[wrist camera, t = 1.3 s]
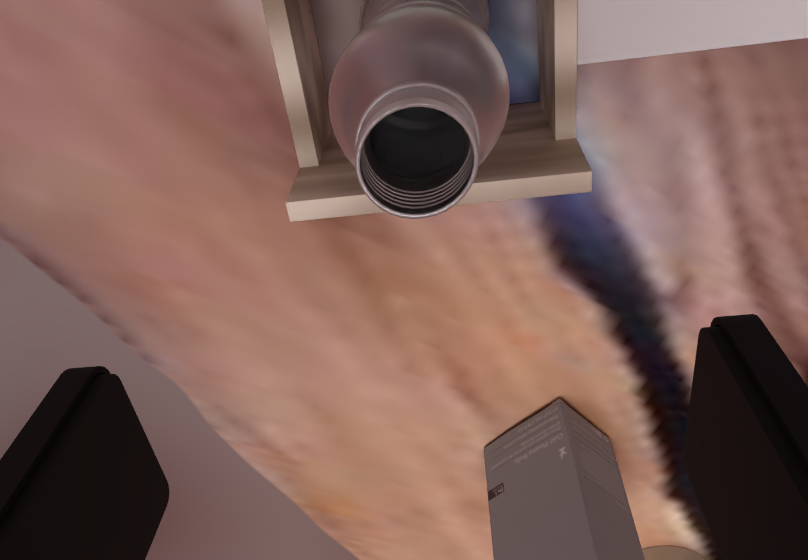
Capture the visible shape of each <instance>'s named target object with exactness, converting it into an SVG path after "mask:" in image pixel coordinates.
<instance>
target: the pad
mask: <svg viewBox="0 0 808 560" xmlns="http://www.w3.org/2000/svg"><path fill="white" fill-rule="evenodd" d="M801 38H808V0H577V65H581V64H589V63H598V62H606V61H615V60H623V59H632V58H640V57H649V56H657V55H666V54H674V53H683V52H691V51H700V50H708V49H717V48H725V47H734V46H742V45H751V44H759V43H768V42H776V41H784V40H793V39H801Z"/></svg>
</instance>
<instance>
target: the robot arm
mask: <svg viewBox="0 0 808 560" xmlns="http://www.w3.org/2000/svg"><path fill="white" fill-rule="evenodd" d="M684 463H685V468H686V472H687V475H688V478H689V480H690V483H691V485H692V488H693V490H694V492H695V495H696V497H697V500H698V502H699V505H700V507H701V510H702V512H703V515H704V517H705V520H706V522H707V524H708V527H709V529H710V532H711V534H712V537H713V539H714V542H715V544H716V547H717V549H718V552H719V554H720V557H721V559H722V560H808V387H807V385H806V384H805V382H804V381H803V379H802V378H801V377H800V375H799V374H798V372H797V371H796V369H795V368H794V367H793V365H792V364H791V362H790V361H789V359H788V358H787V356H786V355H785V354H784V352H783V351H782V349H781V348H780V346H779V345H778V344H777V342H776V341H775V339H774V338H773V336H772V335H771V333H770V332H769V331H768V329H767V328H766V326H765V325H764V323H763V322H762V321H761V319H760V318H759V317H758V316H757V315H754V314H749V315H736V316H723V317H716V318H714V319H713V321H712V322H711V326H710V327H705V328H701V330H700V332H699V337H698V345H697V352H696V360H695V367H694V375H693V383H692V390H691V398H690V406H689V413H688V421H687V429H686V436H685V444H684ZM168 499H169V486H168V482H167V480H166V478H165V475H164V473H163V471H162V469H161V467H160V465H159V462H158V460H157V458H156V456H155V454H154V452H153V449H152V447H151V445H150V443H149V441H148V439H147V436H146V434H145V432H144V430H143V428H142V426H141V423H140V421H139V419H138V417H137V415H136V412H135V410H134V408H133V406H132V404H131V402H130V399H129V397H128V395H127V393H126V391H125V389H124V386H123V384H122V382H121V380H120V378H119V377H118V376H117V375H115V374H110V372H109V371H108V369H106V368H105V367H102V366H96V367H84V368H71V369H67V370H65V371H64V372H63V373H62V374H61V375H60V377H59V378H58V379H57V381H56V382H55V384H54V385H53V386H52V388H51V389H50V391H49V392H48V393H47V395H46V396H45V398H44V399H43V401H42V402H41V403H40V405H39V406H38V407H37V409H36V410H35V412H34V413H33V415H32V416H31V417H30V419H29V420H28V422H27V423H26V425H25V426H24V427H23V429H22V430H21V431H20V433H19V434H18V436H17V437H16V439H15V440H14V442H13V443H12V444H11V446H10V447H9V449H8V450H7V451H6V453H5V454H4V455H3V457H2V458H1V460H0V560H145V558H146V556H147V553H148V551H149V548H150V546H151V544H152V541H153V539H154V536H155V534H156V531H157V529H158V526H159V524H160V521H161V519H162V516H163V514H164V511H165V509H166V507H167V503H168Z"/></svg>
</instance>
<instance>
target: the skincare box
mask: <svg viewBox="0 0 808 560" xmlns="http://www.w3.org/2000/svg"><path fill="white" fill-rule="evenodd" d="M484 457H485V469H486V478H487V491H488V502H489V513H490V523H491V534H492V545H493V556H494V560H645V559H644V555H643V552H642V548H641V545H640V541H639V538H638V534H637V531H636V527H635V524H634V520H633V517H632V513H631V510H630V506H629V503H628V500H627V496H626V492H625V489H624V485H623V482H622V478H621V475H620V471H619V468H618V464H617V461H616V457H615V454H614V450H613V447H612V444H611V441H610V439H609V438H608V437H606V436H605V435H604V434H603V433H602V432H600V431H599V430H598V429H597V428H595V427H594V426H593V425H591V424H590V423H589V422H587V421H586V420H585V419H584V418H582V417H581V416H580V415H579V414H578V413H576V412H575V411H574V410H572V409H571V408H570V407H569V406H568V405H566V404H565V403H564V402H563V401H562V400H561V399H557V400H556V401H554V402H553V403H552V404H551V405H550V406H548V407H547V408H545V409H544V410H542V411H541V412H539V413H538V414H536V415H534V416H533V417H531V418H529V419H528V420H526V421H524V422H523V423H521V424H520V425H518V426H517V427H515V428H513V429H512V430H510V431H509V432H507V433H506V434H504V435H503V436H501V437H500V438H498V439H497V440H495V441H494V442H493V443H491V444H490V445H488V446H487V447H486V448H485V449H484Z"/></svg>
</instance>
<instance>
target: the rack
mask: <svg viewBox="0 0 808 560" xmlns="http://www.w3.org/2000/svg"><path fill="white" fill-rule="evenodd" d="M262 4H263V9H264V13H265V17H266V22H267V26H268V31H269V35H270V39H271V44H272V48H273V53H274V57H275V61H276V66H277V70H278V74H279V79H280V83H281V88H282V92H283V96H284V101H285V105H286V110H287V114H288V118H289V123H290V127H291V132H292V136H293V140H294V145H295V149H296V153H297V158H298V162H299V167H300V169H299V171H298V173H297V176H296V178H295V181H294V183H293V186H292V188H291V191H290V193H289V196H288V198H287V201H286V206H287V210H288V214H289V218H290V222H291V221H301V220H311V219H321V218H331V217H341V216H351V215H361V214H371V213H381V212H386V211H384V210H382V209H380V208H379V207H378V206H376V205H375V204H374V203H373V202H371V200H370V199H369V198H368V197H367V196H366V194H365V193H364V191H363V190H362V188H361V186H360V184H359V181H358V178H357V174H356V171H355V167H354V166H353V165H352V164H351V163H350V161H349V160H348V159H347V158H346V156H345V154H344V153H343V151H342V149H341V147H340V145H339V143H338V141H337V139H336V137H335V135H334V131H333V128H332V125H331V121H330V116H329V105H328V95H327V90H326V85H325V80H324V75H323V69H322V64H321V59H320V54H319V49H318V43H317V38H316V33H315V28H314V23H313V17H312V12H311V7H310V2H309V0H262ZM537 10H538V58H539V102H530V103H521V104H512V105H509V110H508V114H507V118H506V122H505V126H504V128H503V130H502V132H501V134H500V136H499V138H498V141H497V142H496V144H495V146H494V147H493V149H492V150H491V151H490V153H489V154H488V156H487V157H486V158H485V160H484V161H483V162H482V163H481V164H480V165H479V166H478V170H477V174H476V177H475V179H474V182H473V184H472V186H471V188H470V189H469V191H468V192H467V193H466V195H465V196H464V197H463V198H462V199H461V200H460V201H459V202H458V203H457V204H456V205H462V204H472V203H482V202H492V201H502V200H512V199H522V198H532V197H543V196H553V195H563V194H573V193H583V192H592V170H591V168H590V166H589V164H588V162H587V160H586V158H585V156H584V154H583V152H582V150H581V147H580V145H579V143H578V141H577V139H576V86H577V0H537Z"/></svg>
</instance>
